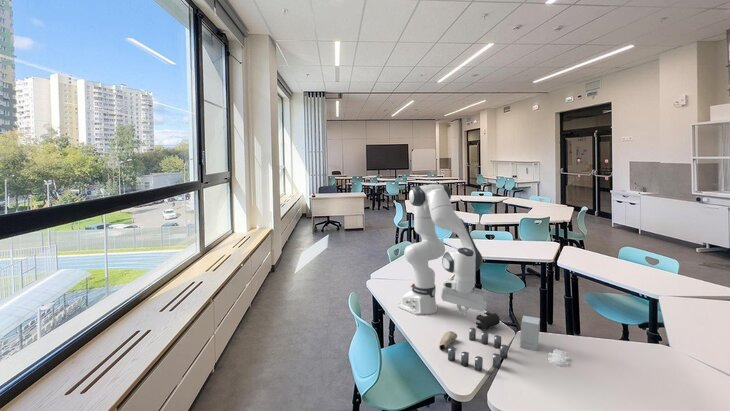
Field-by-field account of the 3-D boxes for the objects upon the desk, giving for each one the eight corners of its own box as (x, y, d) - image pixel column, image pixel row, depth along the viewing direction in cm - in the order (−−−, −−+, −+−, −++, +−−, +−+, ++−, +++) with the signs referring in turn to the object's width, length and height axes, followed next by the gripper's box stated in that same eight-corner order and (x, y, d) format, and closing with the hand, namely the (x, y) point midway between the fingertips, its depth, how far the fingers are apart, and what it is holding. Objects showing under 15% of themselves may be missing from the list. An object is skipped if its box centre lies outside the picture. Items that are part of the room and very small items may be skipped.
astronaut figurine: (572, 356, 166) (573, 350, 165) (567, 369, 156) (567, 362, 156) (550, 350, 171) (551, 344, 171) (544, 362, 162) (544, 356, 161)
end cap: (486, 333, 187) (486, 320, 186) (475, 327, 193) (475, 315, 192) (499, 327, 192) (500, 315, 191) (488, 322, 198) (488, 310, 197)
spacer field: (446, 360, 164) (447, 349, 163) (470, 336, 183) (470, 327, 182) (492, 376, 152) (493, 365, 151) (513, 350, 171) (513, 339, 170)
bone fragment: (445, 336, 184) (445, 327, 183) (457, 340, 181) (458, 331, 180) (433, 349, 173) (433, 340, 172) (446, 353, 170) (447, 344, 169)
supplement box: (537, 351, 170) (538, 324, 168) (519, 347, 173) (520, 321, 171) (538, 343, 176) (540, 318, 174) (521, 340, 180) (522, 314, 178)
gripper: (490, 288, 164) (488, 318, 166) (446, 277, 177) (445, 306, 179) (484, 293, 159) (482, 324, 162) (440, 282, 172) (439, 310, 174)
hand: (462, 314), depth 170 cm, fingers closed
